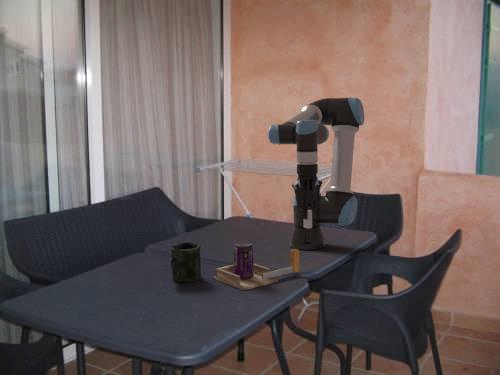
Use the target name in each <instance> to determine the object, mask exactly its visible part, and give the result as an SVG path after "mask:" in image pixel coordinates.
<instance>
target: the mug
mask: <svg viewBox="0 0 500 375" xmlns="http://www.w3.org/2000/svg"><path fill="white" fill-rule="evenodd" d="M201 248H202V245H201V244H200V243H197V242H191V241H190V242H179V243H174V244H171V245H170V248H169V249H170V250H171V260H170V268H171V272H172V280H174V281H175V282H178V283H191V282H195V281H198V280H200V278H201V277H202V270H201Z"/></svg>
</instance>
